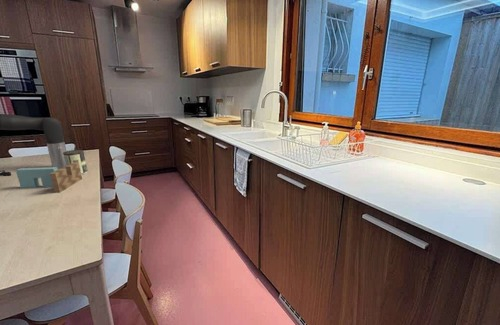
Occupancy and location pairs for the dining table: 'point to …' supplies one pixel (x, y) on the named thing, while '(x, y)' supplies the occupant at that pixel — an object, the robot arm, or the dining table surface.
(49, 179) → the cross plate
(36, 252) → the dining table surface
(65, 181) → the base plate
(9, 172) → the robot arm
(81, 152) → the coffee can
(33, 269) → the dining table surface
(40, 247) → the dining table surface
